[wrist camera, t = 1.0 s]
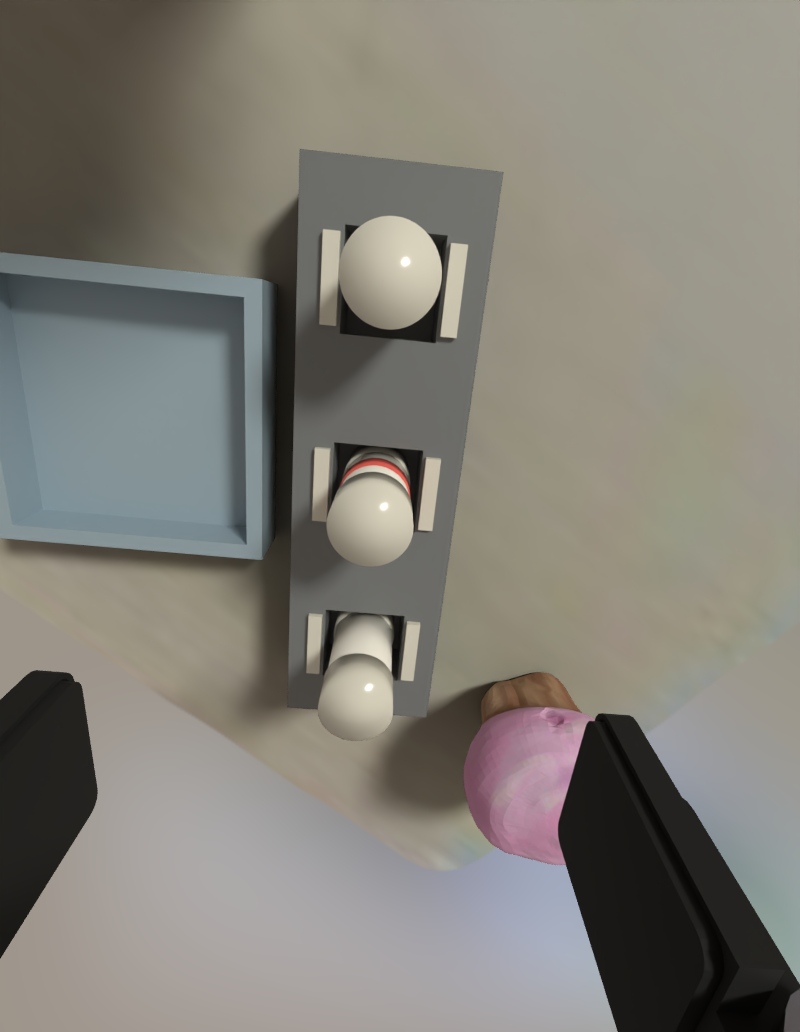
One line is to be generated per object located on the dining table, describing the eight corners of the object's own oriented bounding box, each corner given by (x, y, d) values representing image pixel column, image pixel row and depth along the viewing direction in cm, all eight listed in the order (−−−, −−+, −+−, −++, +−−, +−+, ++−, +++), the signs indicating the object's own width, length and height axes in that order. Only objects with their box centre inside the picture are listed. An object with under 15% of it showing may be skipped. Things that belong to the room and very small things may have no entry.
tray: (-6, 255, 25) (-58, 245, 22) (277, 284, 25) (262, 279, 22) (37, 517, 29) (-1, 538, 26) (274, 538, 30) (262, 559, 27)
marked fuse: (348, 438, 27) (328, 482, 19) (412, 444, 27) (418, 489, 19) (344, 499, 28) (324, 562, 20) (405, 504, 28) (408, 569, 21)
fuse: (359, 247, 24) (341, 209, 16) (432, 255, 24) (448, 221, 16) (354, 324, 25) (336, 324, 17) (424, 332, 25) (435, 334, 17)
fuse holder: (315, 177, 23) (298, 146, 19) (486, 196, 24) (504, 169, 20) (300, 663, 33) (286, 710, 29) (423, 673, 33) (426, 721, 29)
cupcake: (579, 746, 35) (644, 898, 26) (454, 754, 36) (474, 907, 26) (586, 638, 32) (663, 765, 23) (449, 646, 32) (470, 776, 23)
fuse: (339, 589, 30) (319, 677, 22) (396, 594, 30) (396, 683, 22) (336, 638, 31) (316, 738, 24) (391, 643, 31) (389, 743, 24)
